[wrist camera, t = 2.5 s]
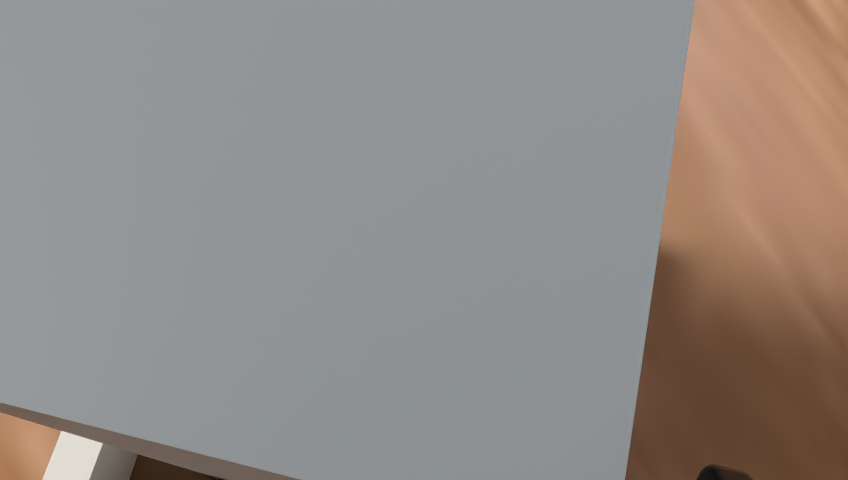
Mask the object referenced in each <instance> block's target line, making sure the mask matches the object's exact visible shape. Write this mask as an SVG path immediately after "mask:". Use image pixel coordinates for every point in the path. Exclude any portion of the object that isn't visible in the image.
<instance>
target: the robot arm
mask: <svg viewBox="0 0 848 480" xmlns="http://www.w3.org/2000/svg"><path fill="white" fill-rule="evenodd" d="M697 480H753V479H752V478H751V477H750V476H749V475H747V474H746V473H744V472H742V471H739V470H735V469H731V468H727V467H723V466H719V465H715V464H710V465H708V466H705V467H704V469H703V470H702V471H701V472H700V474H699V476H698V478H697Z"/></svg>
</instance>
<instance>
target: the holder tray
mask: <svg viewBox="0 0 848 480" xmlns="http://www.w3.org/2000/svg"><path fill="white" fill-rule="evenodd" d="M137 457H138V454H136V453H133V452H130V451H126V450H123V449H120V448H116V447H113V446H110V445H107V444H103V443H100V442H97V441H94V440H90V439H87V438H84V437H80V436H77V435H74V434H71V433H67V432H64V431H61V434H60V436H59V439H58V441H57V444H56V447H55V449H54V452H53V454H52V457H51V459H50V462H49V464H48V467H47V469H46V472H45V475H44V477H43V480H129V479H130V476H131V474H132V471H133V468H134V465H135V462H136V459H137Z"/></svg>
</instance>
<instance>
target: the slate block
mask: <svg viewBox="0 0 848 480" xmlns="http://www.w3.org/2000/svg"><path fill="white" fill-rule="evenodd" d="M694 2H695V0H0V412H2V413H5V414H9V415H12V416H15V417H18V418H22V419H25V420H28V421H31V422H35V423H38V424H41V425H45V426H48V427H51V428H54V429H58V430H61V431H64V432H67V433H71V434H74V435H77V436H80V437H84V438H87V439H90V440H94V441H97V442H100V443H103V444H107V445H110V446H113V447H116V448H120V449H123V450H126V451H130V452H133V453H136V454H139V455H143V456H146V457H149V458H152V459H156V460H159V461H162V462H166V463H169V464H172V465H175V466H179V467H182V468H185V469H188V470H192V471H195V472H198V473H202V474H205V475H209V476H212V477H216V478H220V479H224V480H625V476H626V469H627V462H628V455H629V449H630V442H631V435H632V428H633V421H634V414H635V407H636V400H637V394H638V387H639V380H640V373H641V366H642V359H643V352H644V346H645V339H646V332H647V325H648V318H649V311H650V304H651V297H652V291H653V284H654V277H655V270H656V263H657V256H658V249H659V243H660V236H661V229H662V222H663V215H664V208H665V201H666V194H667V188H668V181H669V174H670V167H671V160H672V153H673V146H674V139H675V133H676V126H677V119H678V112H679V105H680V98H681V91H682V85H683V78H684V71H685V64H686V57H687V50H688V43H689V36H690V30H691V23H692V16H693V9H694Z"/></svg>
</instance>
